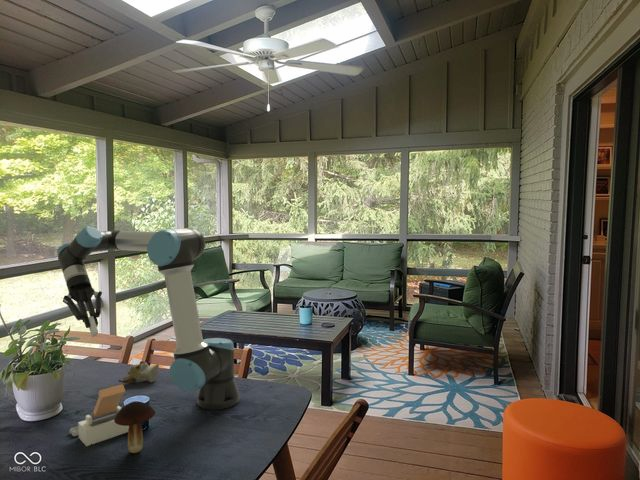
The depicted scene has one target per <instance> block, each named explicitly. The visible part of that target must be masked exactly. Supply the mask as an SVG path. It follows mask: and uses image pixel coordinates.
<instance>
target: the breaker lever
mask: <svg viewBox="0 0 640 480" xmlns="http://www.w3.org/2000/svg"><path fill="white" fill-rule="evenodd" d="M126 392H127V391H126V389H125V386H124V384H118V385H114V386H111V387H110V386H109V387H107V388H103V389H100V390H99V391H98V398H97V400H96V404H95V406H94V409H93V412H91V413H90V416H91V417H92V420H95V419H98V418H101V417H105V416H108V415H111V414H114V413H117V407H118V406H119V403H120V402H121V399H122V397H123V396H124V395H125V394H126Z"/></svg>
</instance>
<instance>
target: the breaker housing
mask: <svg viewBox="0 0 640 480" xmlns="http://www.w3.org/2000/svg"><path fill="white" fill-rule="evenodd" d="M122 408H123V407H122V406H120V405H118V407H117V413H118V412H119V411H120V410H121V409H122ZM117 413H114V414H111V415H108V416H105V417H101V418H98V419H95V420H92V417H91V414H86V415H85V420H81V421H77V426H74V427H71V428H70V429H69V431H68V432H69V434H70V435H71V436H72V437H77V436H78V439H79V440H80V441H81V442H82V443H83V444H84V446H85V447H88V446H91V444H92V445H94V444H96V443H100V442H103V441H106V440H110V439H112V438H114V437H118V436H120V435H123V434H126V433H127V434H128V429H129V426H122V425H118V424H116V423H115V422H114V420H115V417H116V415H117Z"/></svg>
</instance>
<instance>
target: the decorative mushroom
mask: <svg viewBox="0 0 640 480" xmlns="http://www.w3.org/2000/svg"><path fill="white" fill-rule="evenodd" d="M121 408H122V409H121V410H120V411H119V412H118V413H117V415H116V417H115V420H114V422H115V423H116V424H118V425H122V426H129V429H128V432H127V449H128V451H129V452H130V453H131V454H137V453H140V452H141V451H142V449H143V448H144V437H143V436H144V435H143V427H142V423H143V422H146V421H149V420H151V419H153V417H154V416H155V414H156V412H155V410H154V409H153V408H154V407H152V406H151V405H149V404H147V403H146V402H143V401H138V400H137V401H136V400H135V401H131V402H129V403H127V404H125V405H124V406H122V407H121Z"/></svg>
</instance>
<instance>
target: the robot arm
mask: <svg viewBox="0 0 640 480" xmlns="http://www.w3.org/2000/svg"><path fill="white" fill-rule="evenodd" d="M205 249H206V239H205V237H204V234H202V232H201V231H199V230H198V229H196V228H193V227H183V228H180V227H178V228H176V227H175V228H166V229H161V230H158V231H139V230H138V231H136V230H135V231H133V230H132V231H131V230H121V229H120V230H119V229H115V230H114V229H113V230H104V231H101V230H99V229H98V228H96V227H92V226H89V225H88V226H85V227H83V228H82V229H81V230H80V231H79V232H78V233H77V234H76V236H75V237H74V238H73V239H72V240H71V242H67V243H64V244H63V245H60V246H59V247H58V248H57V251H56V253H57V261H58V262H59V265H60V268H61V270H62V274H63V278H64V281H65V284H66V287H67V290H68V294H67V295H63V300H62V302H63V303H64V304H65V305H67V307H68V308H69V310H70V311H71V313H72V314H73V316H74V317H75V319H76V320H77V321H82V323H84V326H85V328H86V329H89V333H90V336H91V337H92V338H93V337H94V338H95V337H97V336H98V334H99V330H98V325H99V321H98V319H99V317H100V316H101V313H102V308H101V306H102V305H101V301H102V300H101V297H102V294H103V292H102V291H101V290H100V291H95V289H94V288H93V286H92V283H91V280H90V278H89V274H88V271H87V269H86V265H85V263H84V262H85V261H86V259H87V258H88V257H89V256H90V255H91V254H92V253H95V252H105V251H135V252H147V256H148V258H149V260H150V261H151V262H152V263H153V264H154V265H155V266H157V270H158V273H160V274H161V275H163V276H164V283H165V286H166V292H167V298H168V304H169V310H170V314H171V321H172V325H173V331H174V337H175V342H176V347H175V349H174V350H173V358H174V360H173V361H172V363H171V365H170V366H169V370H168V371H169V372H168V373H169V377H170V381H171V382H172V383H173V385H174V386H175V387H176V388H178V389H179V390H181V391H183V392H187V393H188V392H189V393H190V392H194V391H196V390H198V394H197V396H196V400H197V401H196V403H197V406H198V407H199V408H201V409H205V410H213V411H215V410H224V409H228V408H231V407H233V406H235V405H237V404H238V403H239V402H240V391H239V389H238V386H237V384H236V380H235V349H234V348H235V347H234V342H233V341H232V340H231V339H228V338H222V337H213V338H212V337H211V338H205V339H204V338H203V332H202V327H201V320H200V316H199V310H198V306H197V299H196V293H195V288H194V282H193V278H192V269H193V267H194V266H195V261H194V260H196V259H197V258H199V257H201V256H202V254H203V253H204V251H205ZM93 296H94V299H95V308H94V305H93V302H92V298H93ZM74 301H75V302H76V303H77V305H76V304H75V302H74Z"/></svg>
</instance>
